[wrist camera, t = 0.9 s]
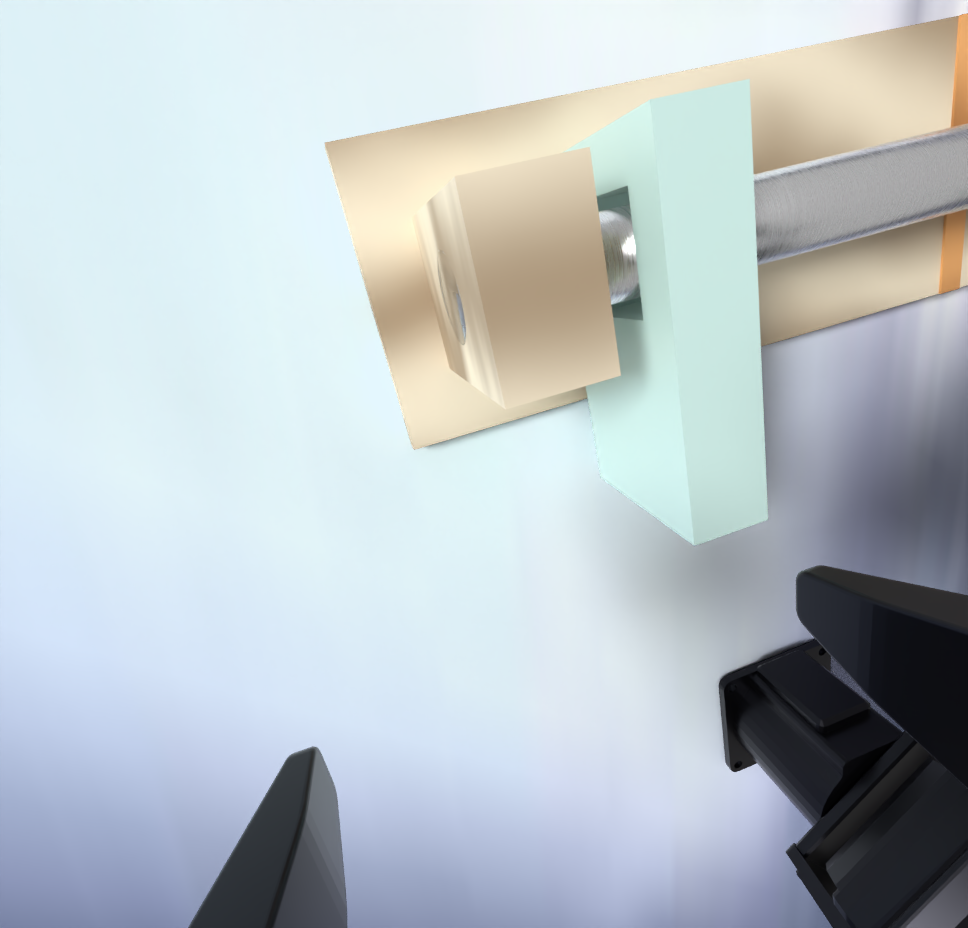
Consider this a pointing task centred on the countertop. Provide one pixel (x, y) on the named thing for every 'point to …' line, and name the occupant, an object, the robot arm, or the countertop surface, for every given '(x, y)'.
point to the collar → (685, 315)
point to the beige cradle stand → (577, 231)
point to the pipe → (824, 202)
